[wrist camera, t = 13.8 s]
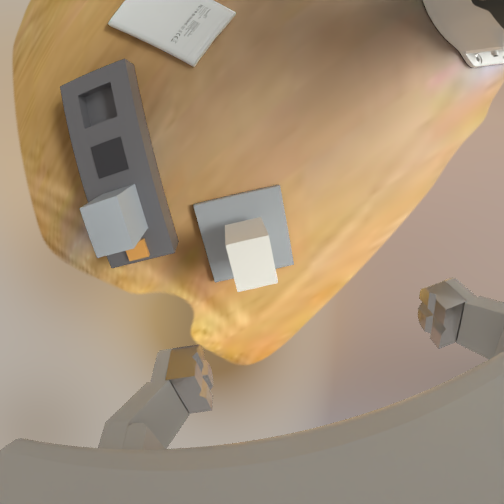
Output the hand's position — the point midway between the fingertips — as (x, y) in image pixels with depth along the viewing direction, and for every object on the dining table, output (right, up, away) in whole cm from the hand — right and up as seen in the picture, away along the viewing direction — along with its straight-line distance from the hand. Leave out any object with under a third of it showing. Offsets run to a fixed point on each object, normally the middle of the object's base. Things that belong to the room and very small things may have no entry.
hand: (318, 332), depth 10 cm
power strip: (-17, +13, +22) cm, 31 cm away
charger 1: (-16, +7, +21) cm, 27 cm away
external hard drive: (-12, +30, +17) cm, 36 cm away
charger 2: (-3, +5, +26) cm, 27 cm away
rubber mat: (-3, +5, +27) cm, 27 cm away
